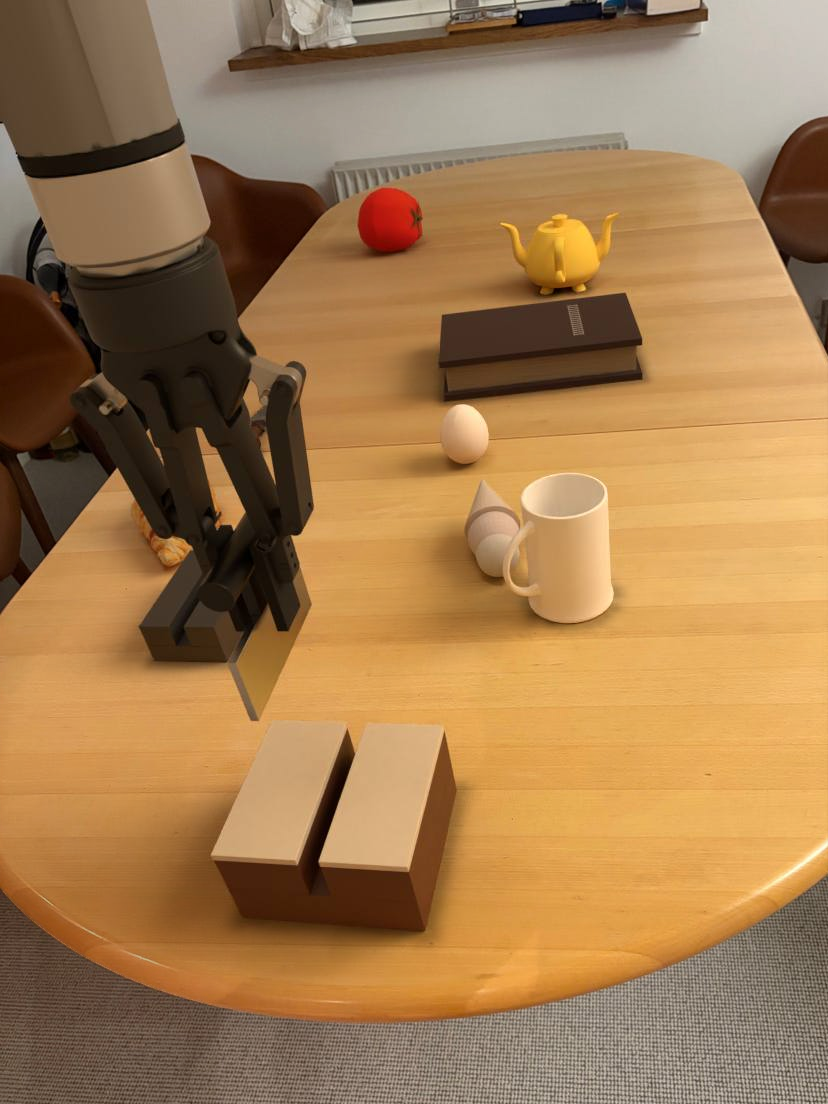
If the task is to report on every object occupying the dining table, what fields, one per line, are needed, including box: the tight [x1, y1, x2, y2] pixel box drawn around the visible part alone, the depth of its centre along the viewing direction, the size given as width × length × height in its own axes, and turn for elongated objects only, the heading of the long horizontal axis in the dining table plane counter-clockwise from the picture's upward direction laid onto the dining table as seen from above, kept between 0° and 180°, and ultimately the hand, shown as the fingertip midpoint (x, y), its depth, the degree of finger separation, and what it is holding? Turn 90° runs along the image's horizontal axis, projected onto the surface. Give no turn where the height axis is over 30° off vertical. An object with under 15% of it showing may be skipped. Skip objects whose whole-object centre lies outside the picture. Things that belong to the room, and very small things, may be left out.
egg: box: [439, 403, 490, 465], centre depth 113 cm, size 6×6×8 cm
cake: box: [210, 719, 458, 932], centre depth 68 cm, size 14×13×8 cm
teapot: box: [500, 211, 621, 295], centre depth 155 cm, size 20×15×12 cm
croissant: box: [130, 479, 221, 567], centre depth 110 cm, size 21×10×8 cm, turn 10°
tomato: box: [357, 187, 423, 253], centre depth 183 cm, size 13×13×13 cm
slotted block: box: [138, 550, 243, 663], centre depth 95 cm, size 8×13×4 cm, turn 171°
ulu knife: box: [198, 512, 313, 722], centre depth 59 cm, size 2×12×10 cm, turn 172°
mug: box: [503, 472, 615, 624], centre depth 87 cm, size 12×8×12 cm
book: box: [438, 292, 643, 402], centre depth 134 cm, size 28×20×6 cm
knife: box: [250, 405, 267, 449], centre depth 130 cm, size 17×2×5 cm
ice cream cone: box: [463, 478, 522, 578], centre depth 98 cm, size 6×6×15 cm
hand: (268, 617), depth 60 cm, fingers closed on ulu knife, 2 cm apart
